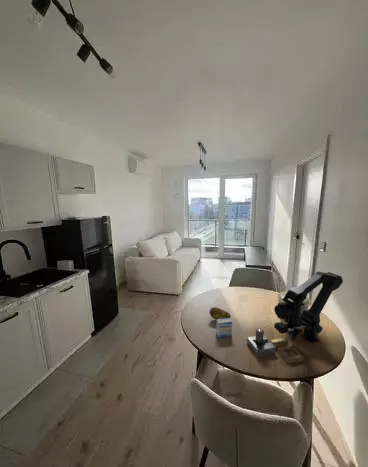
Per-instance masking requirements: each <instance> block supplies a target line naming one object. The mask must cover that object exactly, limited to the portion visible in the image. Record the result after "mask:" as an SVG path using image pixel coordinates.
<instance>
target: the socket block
mask: <svg viewBox="0 0 368 467" xmlns="http://www.w3.org/2000/svg"><path fill="white" fill-rule="evenodd" d="M255 343H256V335H255V336H248V337H246V344H247V345H248V347H249V348H250V350H251V351H252V352H253V354H254V355H255V356H256V357H257V358H258V357H264V356H270V355H274V354H276V350H277V347H275V346H274V345H273V344H272V343H270V342H269V339H268V337H267V336H266V335H265V334H263V346H257V345H256V344H255Z"/></svg>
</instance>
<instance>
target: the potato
mask: <svg viewBox="0 0 368 467" xmlns="http://www.w3.org/2000/svg"><path fill="white" fill-rule="evenodd" d="M209 315H210V317H211V318H212V319H213V320H215V321H216V320H217V319H225V318H230V319H231V314H230V313H229V312H228V311H227V310H224V309H221V308H219V307H215V306H214V307H211V308H210V309H209Z"/></svg>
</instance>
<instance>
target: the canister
mask: <svg viewBox="0 0 368 467" xmlns="http://www.w3.org/2000/svg"><path fill="white" fill-rule="evenodd" d="M287 292H288V291H287V290H286V291H282V292H279V293H277V294H276V296H277V299H278V302H277V304H278V303H284V301H282V300H283V298H284V297H285V295H286V294H287ZM288 300H290V301H291V302H293V301H292V300H291V299H288ZM311 302H312V301H311V299H310V298H309V297H307V298H306V299H305V300H304V301H303V303H304V304H305V305H303V306H301V312H300V317H301V315H302V313H303V311H304V310H306V311H307V310H309V305H310V304H311ZM279 320H280V322H282V323H283V324H287V323H286V322H284V320H282V319H279Z"/></svg>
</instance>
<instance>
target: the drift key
mask: <svg viewBox="0 0 368 467" xmlns="http://www.w3.org/2000/svg"><path fill="white" fill-rule="evenodd" d="M289 340H290V339H288V337H287V336H286V335H283V336H282V337H281V338H275V339H270V340H269V343H272V344H273V345H274V346H275V347H276V348H281V347H287V346H289Z"/></svg>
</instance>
